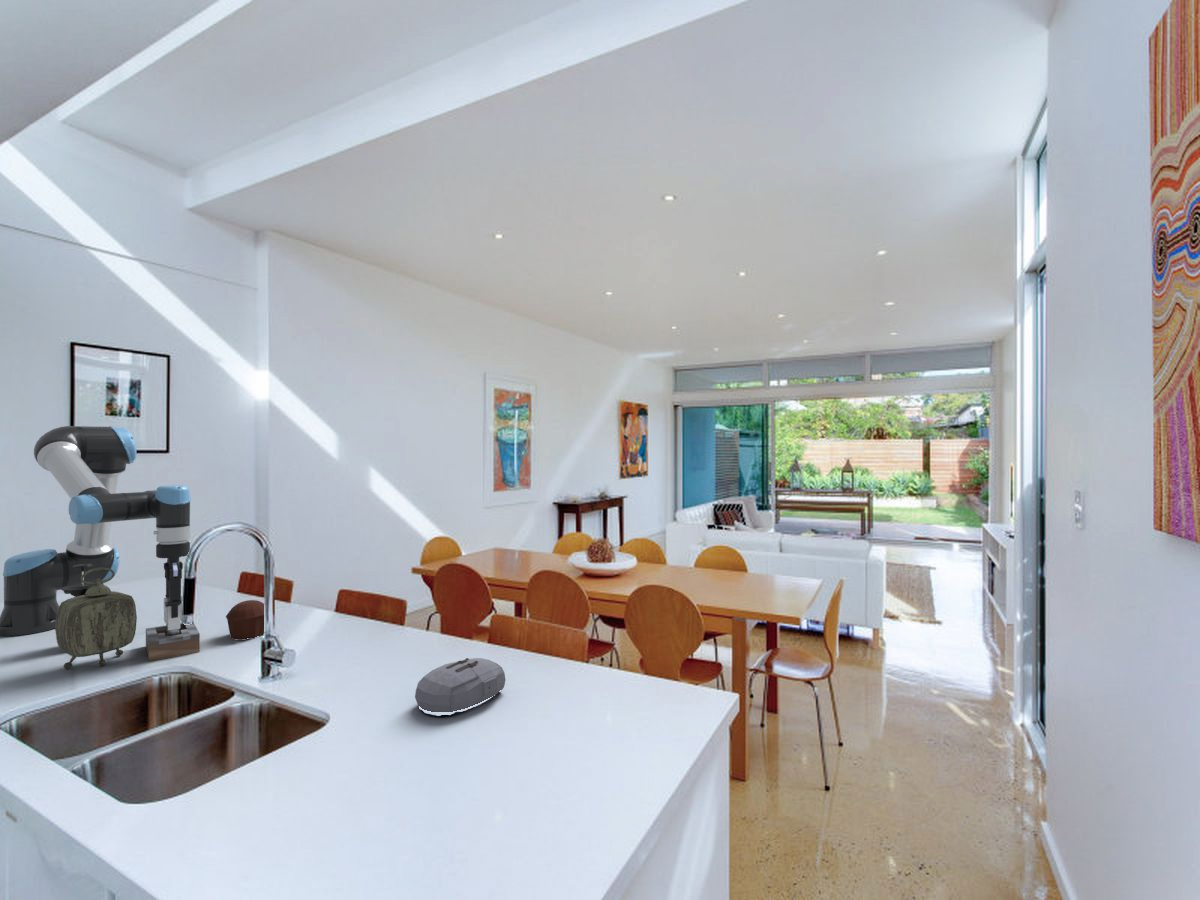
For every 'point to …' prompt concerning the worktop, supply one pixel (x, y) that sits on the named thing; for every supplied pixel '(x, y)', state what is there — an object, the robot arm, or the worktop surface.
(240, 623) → the muffin
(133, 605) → the tabletop clock
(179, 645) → the keyhole block
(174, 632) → the headed peg
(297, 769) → the worktop surface
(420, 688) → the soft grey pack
